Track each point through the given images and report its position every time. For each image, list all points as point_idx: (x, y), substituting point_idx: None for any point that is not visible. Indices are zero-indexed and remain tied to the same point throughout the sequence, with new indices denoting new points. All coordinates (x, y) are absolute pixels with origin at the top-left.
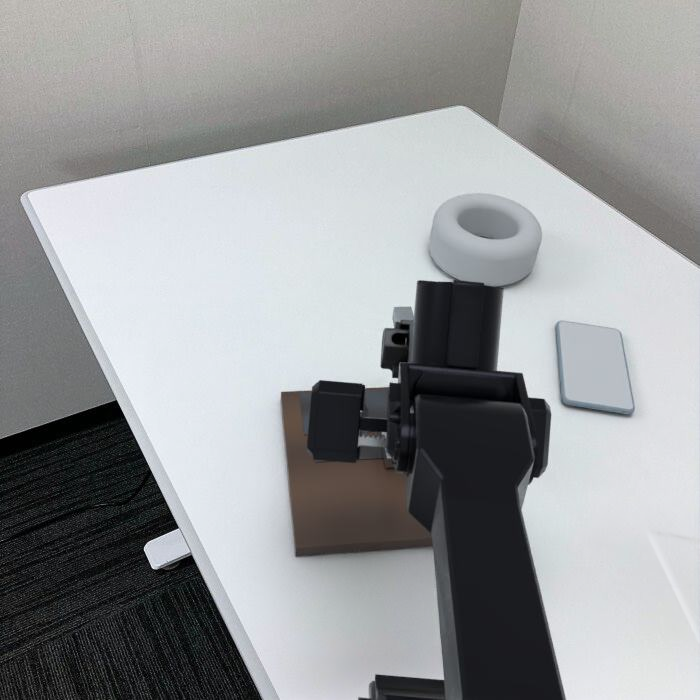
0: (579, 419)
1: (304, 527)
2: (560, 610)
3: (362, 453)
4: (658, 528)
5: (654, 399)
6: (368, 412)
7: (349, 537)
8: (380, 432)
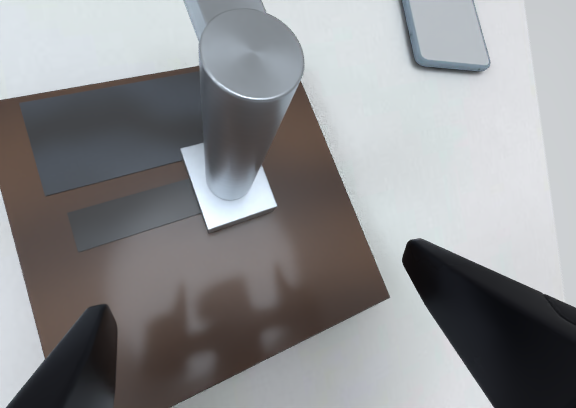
0: (433, 84)
1: None
2: (455, 374)
3: (164, 212)
4: (525, 221)
5: (497, 45)
6: (90, 363)
7: (169, 393)
8: (187, 171)
